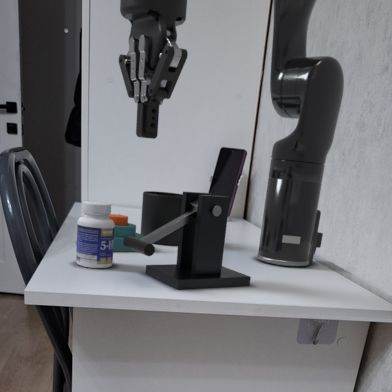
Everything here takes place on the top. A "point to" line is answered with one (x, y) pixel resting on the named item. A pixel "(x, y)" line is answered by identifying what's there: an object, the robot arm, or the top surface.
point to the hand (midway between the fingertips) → (146, 137)
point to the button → (119, 219)
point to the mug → (160, 214)
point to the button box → (121, 233)
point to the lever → (160, 232)
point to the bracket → (201, 248)
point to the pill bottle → (95, 236)
